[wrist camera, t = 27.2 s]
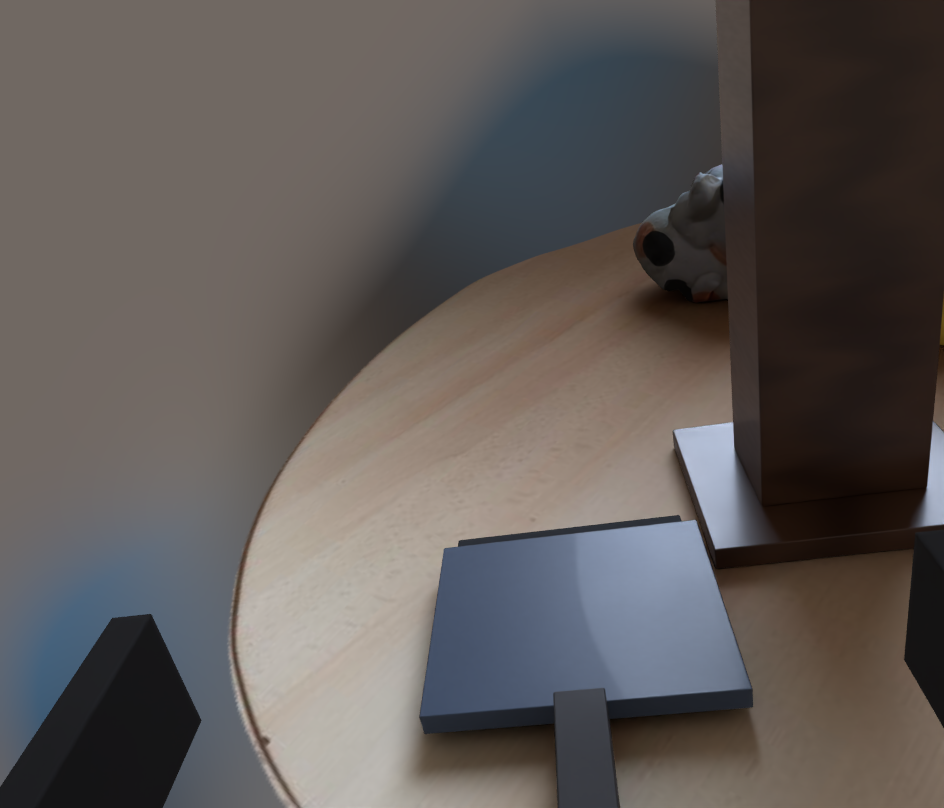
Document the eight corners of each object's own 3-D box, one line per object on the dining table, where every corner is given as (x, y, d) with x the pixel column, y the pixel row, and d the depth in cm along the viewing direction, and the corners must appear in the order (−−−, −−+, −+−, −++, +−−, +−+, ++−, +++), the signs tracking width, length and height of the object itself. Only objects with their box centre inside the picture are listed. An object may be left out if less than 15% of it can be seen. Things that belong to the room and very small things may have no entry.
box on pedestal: (715, 569, 38) (650, -546, 21) (673, 446, 49) (608, -364, 32) (1024, 537, 36) (1219, -713, 20) (910, 416, 47) (973, -460, 30)
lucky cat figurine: (752, 245, 80) (820, 117, 70) (800, 326, 72) (885, 195, 62) (614, 236, 76) (664, 100, 66) (648, 319, 69) (711, 180, 58)
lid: (385, 1017, 23) (370, 982, 22) (447, 563, 42) (440, 535, 41) (848, 1002, 21) (851, 965, 20) (697, 535, 40) (695, 506, 39)
